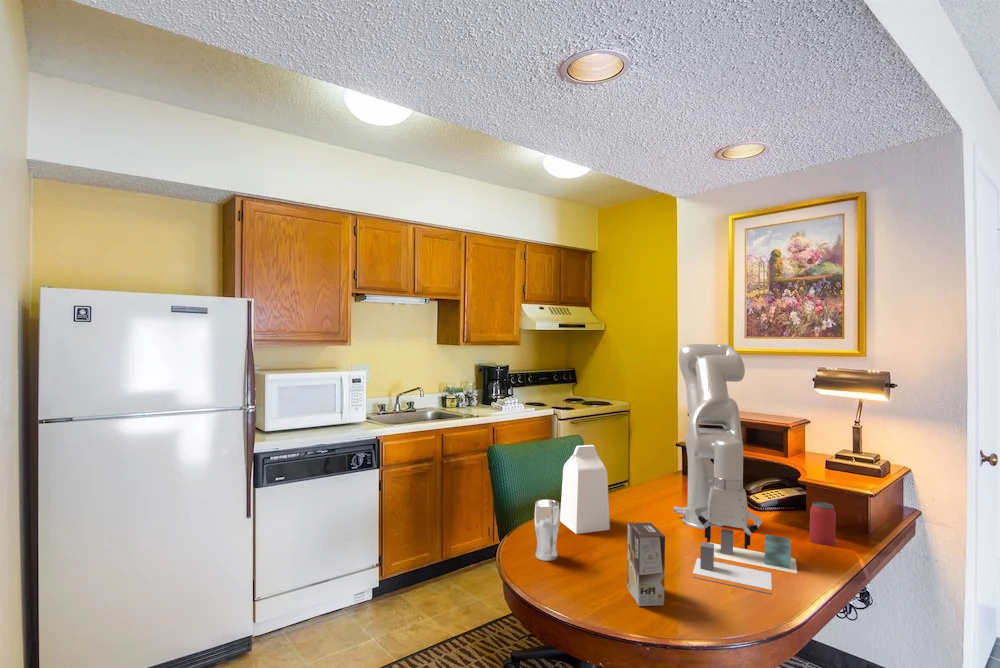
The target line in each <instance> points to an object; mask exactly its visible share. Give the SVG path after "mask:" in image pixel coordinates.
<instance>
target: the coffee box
mask: <svg viewBox="0 0 1000 668" xmlns="http://www.w3.org/2000/svg"><path fill="white" fill-rule="evenodd" d="M626 560H627V561H626V562H627V563H626V564H627V565H626V566H627V570H626V571H627V572H626V574H627V578H626V580H627V581H626V587H627V590H628V591H629V594H630V595H631V596H632V599H634V600H635V603H636V604H637V605H638V606H639V607H653V606H654V607H655V606H656V607H658V606H664V605H665V567H666V566H665V565H666V563H665V561H666V536H665V535H664V534H663V533H662V532H661V531H660V530H659V529H658V528H657V527H656V526H655V525H654V524H653V522H634V523H633V522H632V523H627V559H626Z"/></svg>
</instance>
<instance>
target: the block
mask: <svg viewBox="0 0 1000 668" xmlns="http://www.w3.org/2000/svg"><path fill="white" fill-rule="evenodd" d="M791 547H792V545H791V539H790V538H789V537H784V536H778V535H772V534H767V533H766V534H764V553H765V564H767V565H772V566H777V567H782V568H787V569H790V561H791V558H792V556H791V554H792V553H791V552H792V551H791V550H792V548H791Z"/></svg>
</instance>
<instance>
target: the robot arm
mask: <svg viewBox="0 0 1000 668" xmlns="http://www.w3.org/2000/svg"><path fill="white" fill-rule="evenodd" d="M678 363H679V369H680V372H681V375H682V378H683V381H684V383H685V387H686V399H687V400H686V401H687V413H688V417H689V418H688V422H687V423H688V424H687V432H686V435H685V448H686V455H687V505H686V506H683V507H681V506H675V505H674V506H673V512H674V513H675V514H677V515H682V517H681V518H682V520H681V521H682V522H683V523H684V524H685V525H686V526H688V527H691V528H695V529H699V530H704V538H705V539H706V543H711V537H712V536H711V535H712V533H711V532H712V527H718V528H721V529H723V527H724V526H725V527H731V528H738V529H743V531H744V543H743V545H744V547H743V549H746V550H748V547H749V546H751V535H753V533H755V532H756V531H757V530H759V527H760V526H761V524H762V523H763V519H762V518H760V516H757V515H756V514H754V513H752V512H751V511H750V510H748V499H747V492H746V490H745V489H744V487H743V485H744V482H743V481H744V479H743V478H744V445H743V436H742V435H743V434H742V426H741V425H742V424H741V417H740V410H739V405H738V404H737V402H736V400H734V399H733V398H732V397H729V392H728V391H729V390H728V384H727V382H735V383H737V382H742V380H743V379H744V378H745V374H746V368H745V364H744V361H743V359H742V357H741V355H740V353H738V352H737V351H736V350H735V348H734V347H733V346H732V345H728V344H712V343H711V344H708V343H692V344H686V345H684V346H682V347H681V348H680V350H679V352H678ZM700 425H703V426H705V425H706V426H721V427H722V428H712V427H711V428H710V427H708V428H707V427H700ZM712 460H713V462H712ZM748 518H749V519H750V520H752V521H754V523H753V524H752V525H749V524H748V520H749V519H748Z"/></svg>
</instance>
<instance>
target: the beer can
mask: <svg viewBox="0 0 1000 668" xmlns="http://www.w3.org/2000/svg"><path fill="white" fill-rule="evenodd" d="M811 503H812V505H811V506H810V509H809V541H810V543H811V544H815V545H822V546H827V547H832V548H834V547H835V545H836V526H837V525H836V521H837V520H836V518H837V516H836V515H837V513H836V510H835V508H834V507H835V506H834V505H833V504H831V503H830V502H829V503H828V502H824V501H813V502H811Z"/></svg>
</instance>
